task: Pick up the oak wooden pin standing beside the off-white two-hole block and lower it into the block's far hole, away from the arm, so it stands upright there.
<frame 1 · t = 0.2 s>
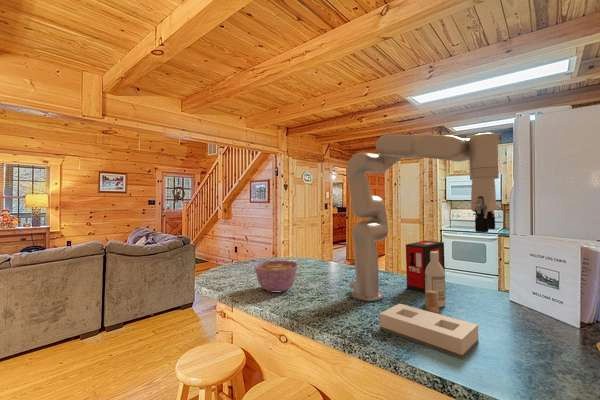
hand: (485, 230, 90), 30 cm above the counter, tool pointing down, fingers open, 9 cm apart
hole block: (426, 335, 87), on the counter
bath foam: (435, 304, 112), on the counter
cleaning product box: (426, 287, 133), on the counter
oak pin: (432, 318, 99), on the counter
bowl of food: (277, 290, 135), on the counter
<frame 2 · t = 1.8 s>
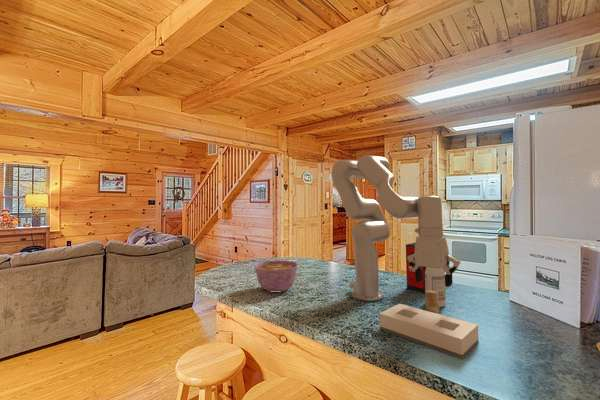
hand: (433, 283, 98), 12 cm above the counter, tool pointing down, fingers open, 9 cm apart
nothing on the counter moved.
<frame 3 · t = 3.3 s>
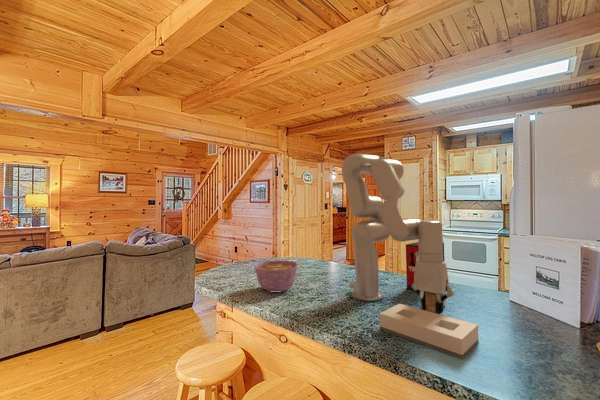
hand: (432, 310, 99), 3 cm above the counter, tool pointing down, fingers closed on oak pin, 4 cm apart
oak pin: (432, 318, 99), on the counter, touching gripper
everything else where it was.
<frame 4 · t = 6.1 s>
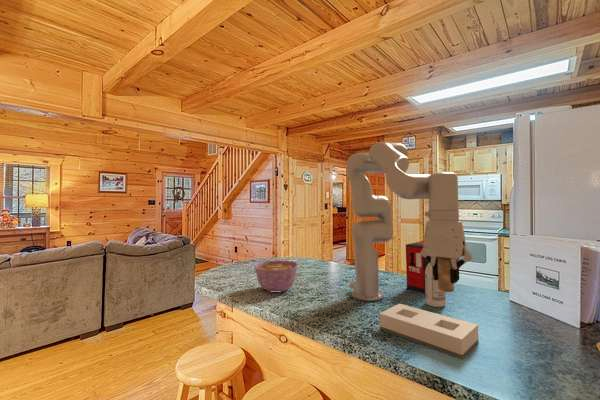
hand: (445, 280, 83), 18 cm above the counter, tool pointing down, fingers closed on oak pin, 4 cm apart
oak pin: (446, 289, 83), point 15 cm above the counter, touching gripper
everything else where it was.
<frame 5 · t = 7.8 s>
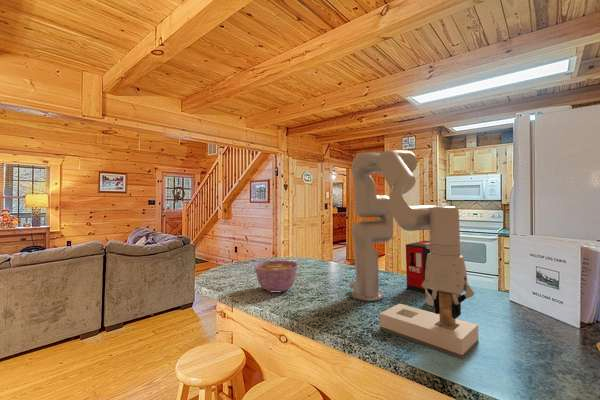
hand: (447, 314, 82), 8 cm above the counter, tool pointing down, fingers closed on oak pin, 4 cm apart
oak pin: (447, 323, 82), point 5 cm above the counter, touching gripper
everything else where it was.
when the fingers open (6 cm above the counter, at t = 9.0 s): oak pin drops 2 cm, resting on hole block.
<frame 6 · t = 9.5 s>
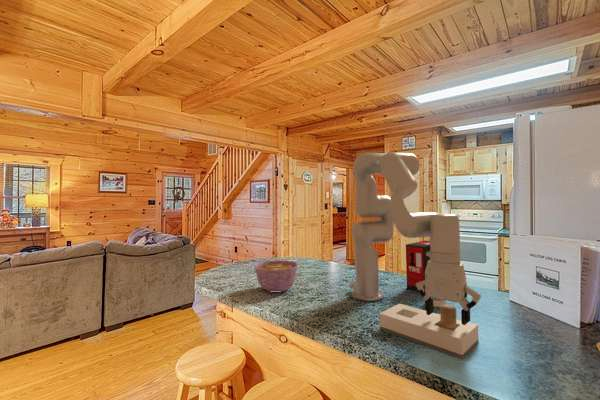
hand: (446, 318, 83), 7 cm above the counter, tool pointing down, fingers open, 9 cm apart
oak pin: (448, 338, 83), point 1 cm above the counter, touching hole block
everything else where it was.
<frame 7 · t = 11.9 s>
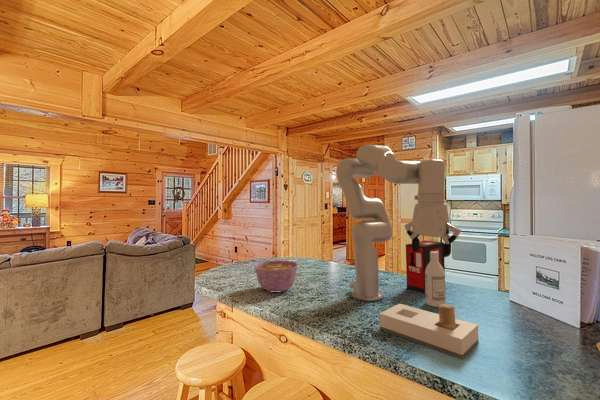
hand: (430, 253, 92), 23 cm above the counter, tool pointing down, fingers open, 9 cm apart
nothing on the counter moved.
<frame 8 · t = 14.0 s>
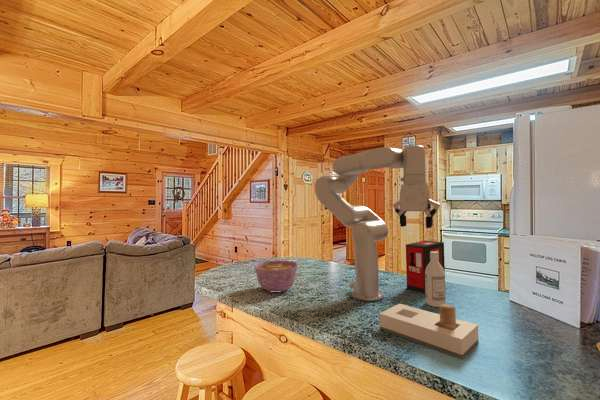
hand: (415, 227, 106), 30 cm above the counter, tool pointing down, fingers open, 9 cm apart
nothing on the counter moved.
at the end: oak pin 0.2 cm from the target spot on the hole block, point 1.0 cm above the hole block's base; oak pin tilted 1°; the gripper is holding nothing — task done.
